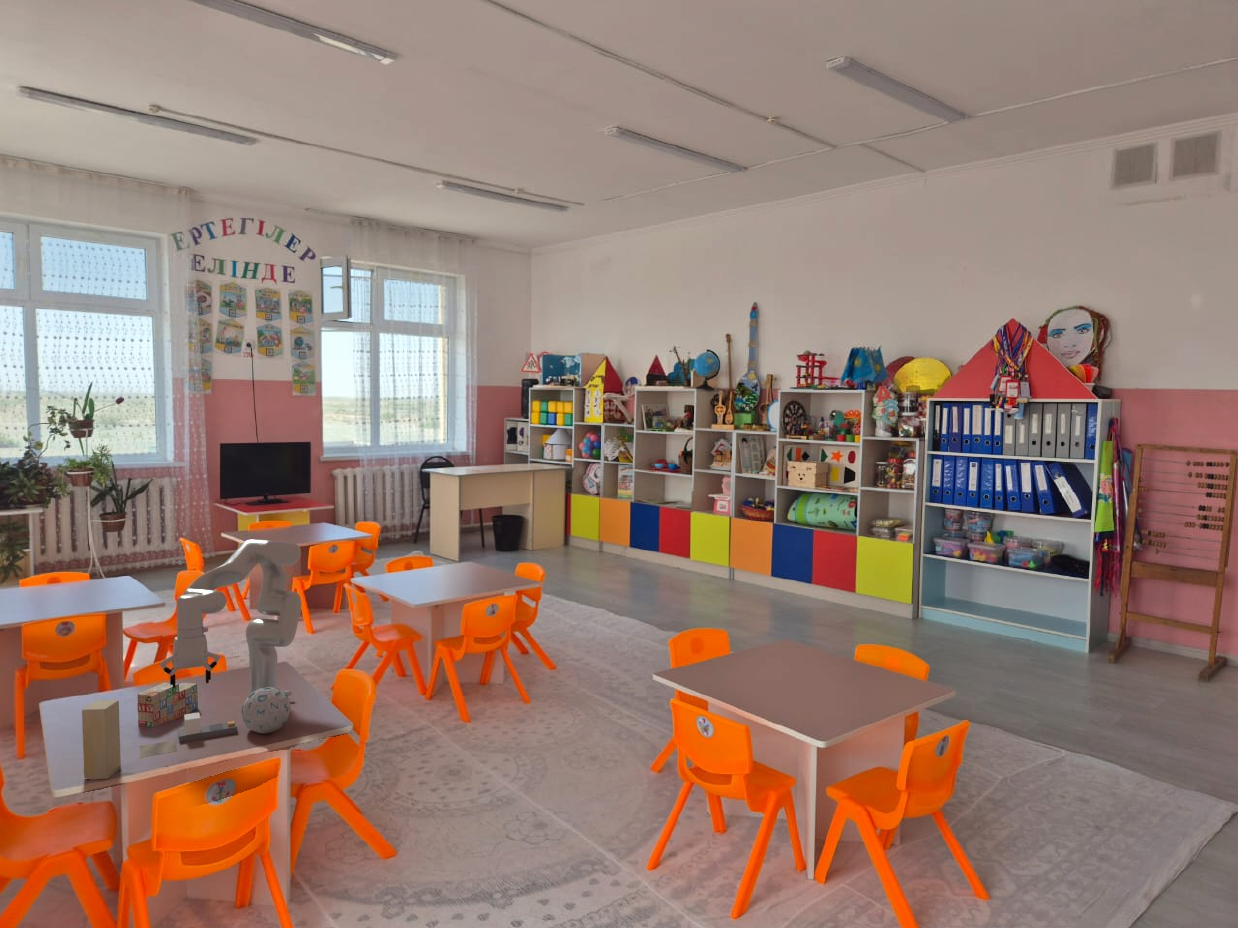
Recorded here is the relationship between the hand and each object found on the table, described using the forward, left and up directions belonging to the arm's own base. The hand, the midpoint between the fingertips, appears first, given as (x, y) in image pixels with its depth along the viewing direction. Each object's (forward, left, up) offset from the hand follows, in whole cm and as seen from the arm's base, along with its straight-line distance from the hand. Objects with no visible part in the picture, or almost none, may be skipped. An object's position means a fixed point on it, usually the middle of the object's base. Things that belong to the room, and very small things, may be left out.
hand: (190, 684), depth 269 cm
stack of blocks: (+6, -26, -19) cm, 32 cm away
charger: (0, 0, -18) cm, 18 cm away
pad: (+10, +5, -19) cm, 22 cm away
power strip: (-5, 0, -19) cm, 19 cm away
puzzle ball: (-22, +4, -19) cm, 29 cm away
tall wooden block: (+25, +15, -19) cm, 35 cm away
